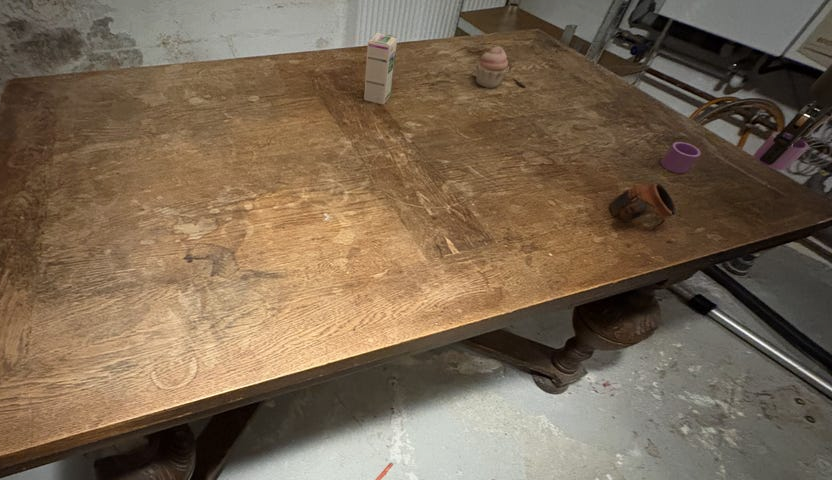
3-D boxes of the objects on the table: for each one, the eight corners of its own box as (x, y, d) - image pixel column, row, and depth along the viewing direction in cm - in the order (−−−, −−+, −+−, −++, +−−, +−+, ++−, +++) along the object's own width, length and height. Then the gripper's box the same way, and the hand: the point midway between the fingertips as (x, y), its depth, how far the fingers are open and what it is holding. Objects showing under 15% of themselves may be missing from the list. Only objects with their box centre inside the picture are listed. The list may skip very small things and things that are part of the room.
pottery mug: (616, 195, 88) (658, 173, 82) (639, 233, 87) (684, 214, 81) (597, 205, 80) (641, 182, 74) (622, 247, 79) (670, 227, 73)
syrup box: (384, 105, 105) (391, 45, 94) (362, 100, 107) (367, 39, 95) (390, 95, 109) (398, 36, 98) (370, 90, 110) (375, 31, 99)
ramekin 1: (669, 156, 98) (682, 139, 95) (691, 169, 95) (705, 152, 92) (655, 162, 96) (667, 145, 93) (677, 176, 93) (691, 159, 90)
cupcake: (484, 93, 113) (496, 55, 105) (464, 78, 118) (474, 41, 110) (510, 88, 116) (524, 50, 108) (489, 73, 121) (501, 37, 113)
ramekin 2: (762, 149, 82) (781, 129, 79) (792, 165, 79) (814, 144, 76) (747, 157, 80) (766, 136, 77) (778, 173, 77) (800, 152, 74)
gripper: (872, 87, 61) (775, 179, 74) (907, 70, 67) (811, 158, 80) (817, 66, 65) (734, 157, 78) (854, 52, 71) (771, 139, 84)
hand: (773, 157), depth 79 cm, fingers closed on ramekin 2, 6 cm apart
